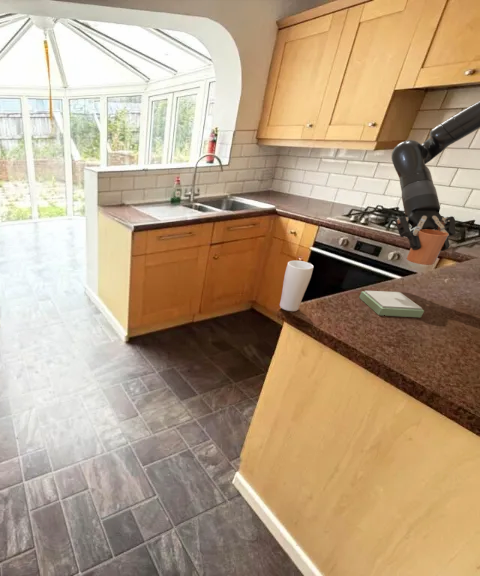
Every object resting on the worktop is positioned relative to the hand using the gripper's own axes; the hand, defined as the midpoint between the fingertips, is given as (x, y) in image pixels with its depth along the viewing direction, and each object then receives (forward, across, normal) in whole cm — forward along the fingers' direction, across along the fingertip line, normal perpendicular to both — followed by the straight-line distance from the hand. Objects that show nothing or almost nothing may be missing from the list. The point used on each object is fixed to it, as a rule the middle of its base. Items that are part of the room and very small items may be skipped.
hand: (430, 249), depth 94 cm
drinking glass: (+18, -36, +8) cm, 41 cm away
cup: (+2, 0, +4) cm, 5 cm away
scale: (+15, -6, +11) cm, 20 cm away
